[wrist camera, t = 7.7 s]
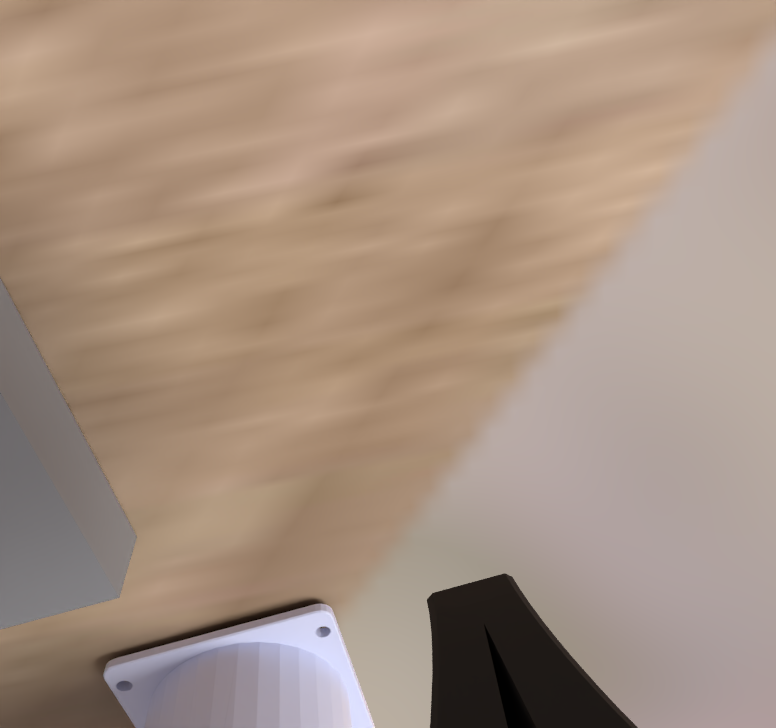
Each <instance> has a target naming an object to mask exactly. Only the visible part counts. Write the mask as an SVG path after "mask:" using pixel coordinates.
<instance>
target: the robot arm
mask: <svg viewBox="0 0 776 728" xmlns="http://www.w3.org/2000/svg"><path fill="white" fill-rule="evenodd" d="M427 603H428V608H429V614H430V622H431V631H432V651H433V652H432V656H433V657H432V658H433V660H432V662H433V679H432V701H431V703H432V704H431V724H430V728H637V726H635V725H634V723H633V722H632V721H631V720H630V719H629V718H628V717H627V716H626V715H625V714H624V713H623V712H622V711H621V710H620V709H619V708H618V707H617V706H616V705H615V704H614V703H613V702H612V701H611V700H610V699H609V698H608V697H607V695H606V694H605V693H604V692H603V691H602V690H601V689H600V688H599V687H598V686H597V685H596V683H595V682H594V681H593V680H592V679H591V678H590V677H589V676H588V674H587V673H586V672H585V671H584V670H583V669H582V668H581V667H580V665H579V664H578V663H577V662H576V661H575V660H574V659H573V658H572V656H571V655H570V654H569V653H568V652H567V650H566V649H565V648H564V647H563V646H562V644H561V643H560V642H559V641H558V640H557V638H556V637H555V636H554V635H553V634H552V632H551V631H550V630H549V628H548V627H547V626H546V625H545V623H544V622H543V621H542V619H541V618H540V617H539V615H538V614H537V613H536V611H535V610H534V609H533V607H532V606H531V605H530V603H529V602H528V600H527V599H526V598H525V596H524V595H523V593H522V592H521V590H520V589H519V587H518V585H517V584H516V582H515V581H514V579H513V577H511V576H509V575H507V574H502V575H498V576H494V577H490V578H487V579H483V580H479V581H476V582H472V583H468V584H465V585H461V586H457V587H454V588H450V589H446V590H443V591H439V592H435V593H432V595H431V596H430V597H429V598H428V599H427ZM324 626H325V628H319V627H324ZM103 677H104V680H105V681H106V683H107V684H108V686H109V687H110V689H111V691H112V692H113V694H114V695H115V697H116V698H117V700H118V701H119V703H120V704H121V706H122V707H123V709H124V711H125V712H126V714H127V715H128V717H129V718H130V720H131V721H132V723H133V724H134V726H135V728H375V725H374V722H373V720H372V717H371V714H370V711H369V709H368V706H367V703H366V700H365V698H364V695H363V692H362V689H361V687H360V684H359V681H358V679H357V676H356V673H355V670H354V668H353V665H352V662H351V659H350V656H349V654H348V651H347V648H346V646H345V643H344V640H343V637H342V634H341V632H340V629H339V626H338V624H337V621H336V618H335V615H334V613H333V610H332V609H331V607H330V606H328V605H326V604H314V605H310V606H307V607H303V608H299V609H296V610H292V611H288V612H284V613H281V614H277V615H273V616H270V617H266V618H262V619H259V620H255V621H251V622H248V623H244V624H240V625H236V626H233V627H229V628H225V629H222V630H218V631H214V632H211V633H207V634H203V635H200V636H196V637H192V638H188V639H185V640H181V641H177V642H174V643H170V644H166V645H163V646H159V647H155V648H151V649H148V650H144V651H140V652H137V653H133V654H129V655H126V656H122V657H118V658H115V659H112V660H110V661H109V662H108V663H107V664H106V667H105V670H104V674H103Z"/></svg>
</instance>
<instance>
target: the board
mask: <svg viewBox="0 0 776 728" xmlns="http://www.w3.org/2000/svg"><path fill="white" fill-rule="evenodd" d="M136 538H137V536H136V534H135V532H134V530H133V528H132V527H131V525H130V523H129V521H128V519H127V517H126V515H125V513H124V511H123V510H122V508H121V506H120V504H119V502H118V500H117V498H116V496H115V494H114V492H113V491H112V489H111V487H110V485H109V483H108V481H107V479H106V477H105V475H104V473H103V472H102V470H101V468H100V466H99V464H98V462H97V460H96V458H95V456H94V455H93V453H92V451H91V449H90V447H89V445H88V443H87V441H86V439H85V437H84V436H83V434H82V432H81V430H80V428H79V426H78V424H77V422H76V420H75V418H74V417H73V415H72V413H71V411H70V409H69V407H68V405H67V403H66V401H65V400H64V398H63V396H62V394H61V392H60V390H59V388H58V386H57V384H56V382H55V381H54V379H53V377H52V375H51V373H50V371H49V369H48V367H47V365H46V363H45V362H44V360H43V358H42V356H41V354H40V352H39V350H38V348H37V346H36V345H35V343H34V341H33V339H32V337H31V335H30V333H29V331H28V329H27V327H26V326H25V324H24V322H23V320H22V318H21V316H20V314H19V312H18V310H17V308H16V307H15V305H14V303H13V301H12V299H11V297H10V295H9V293H8V291H7V290H6V288H5V286H4V284H3V282H2V280H1V278H0V629H4V628H8V627H12V626H15V625H19V624H23V623H26V622H30V621H34V620H38V619H41V618H45V617H49V616H53V615H56V614H60V613H64V612H68V611H71V610H75V609H79V608H82V607H86V606H90V605H94V604H97V603H101V602H105V601H109V600H112V599H116V598H119V597H120V593H121V590H122V586H123V583H124V580H125V576H126V573H127V569H128V566H129V562H130V559H131V555H132V552H133V548H134V545H135V541H136Z"/></svg>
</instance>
